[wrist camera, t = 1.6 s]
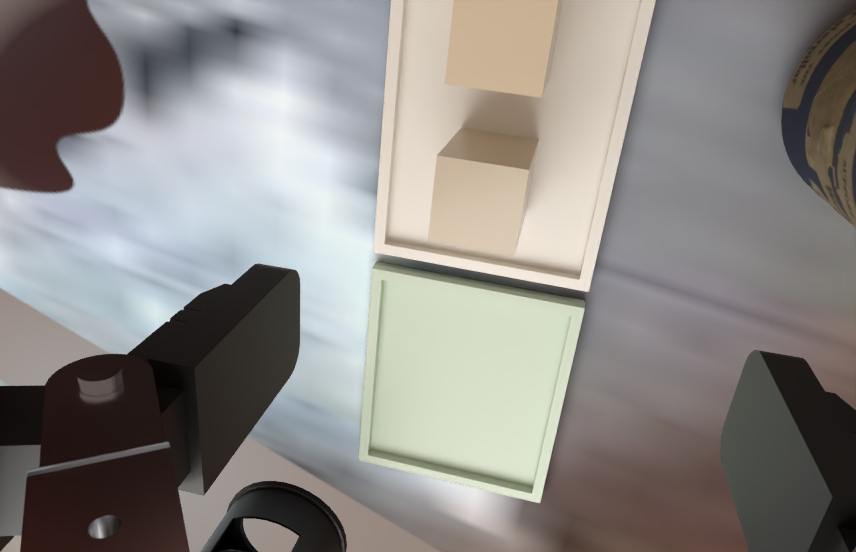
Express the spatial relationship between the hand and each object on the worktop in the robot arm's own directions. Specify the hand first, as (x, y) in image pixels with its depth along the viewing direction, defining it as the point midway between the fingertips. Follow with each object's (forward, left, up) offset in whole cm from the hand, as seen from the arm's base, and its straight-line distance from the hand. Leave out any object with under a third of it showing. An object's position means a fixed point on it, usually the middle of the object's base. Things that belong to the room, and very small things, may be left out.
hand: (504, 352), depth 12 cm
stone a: (+3, -4, -23) cm, 24 cm away
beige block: (+3, +3, -23) cm, 24 cm away
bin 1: (+3, 0, -24) cm, 24 cm away
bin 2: (+3, +17, -24) cm, 29 cm away
